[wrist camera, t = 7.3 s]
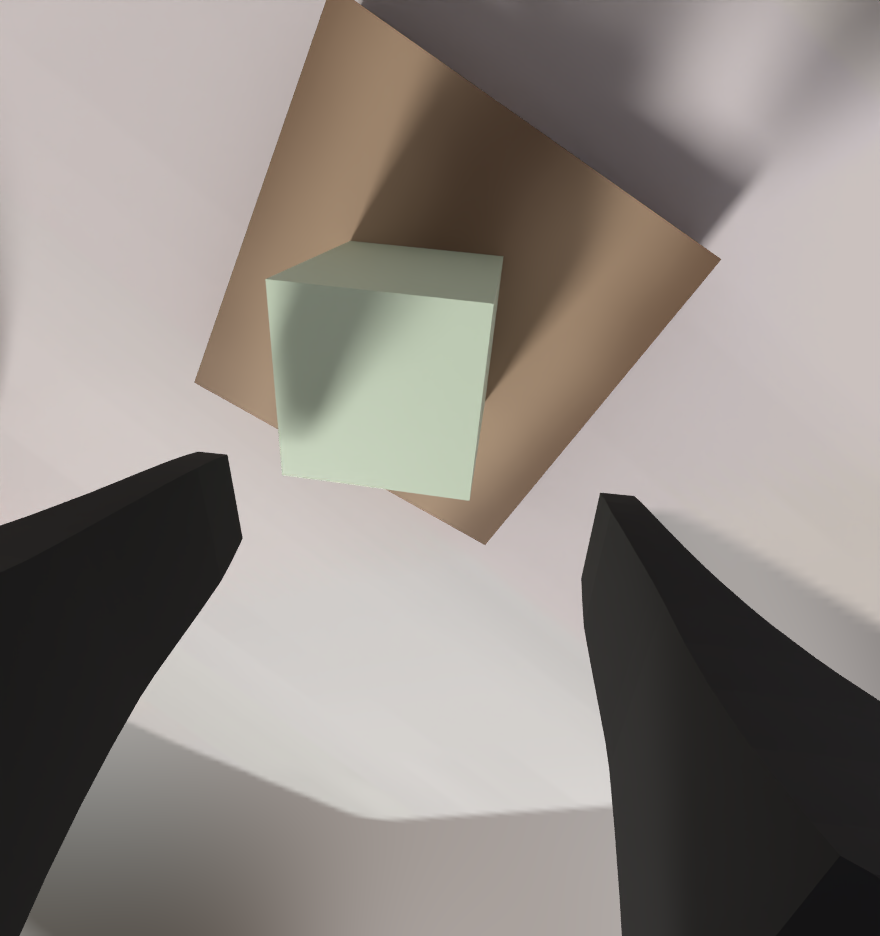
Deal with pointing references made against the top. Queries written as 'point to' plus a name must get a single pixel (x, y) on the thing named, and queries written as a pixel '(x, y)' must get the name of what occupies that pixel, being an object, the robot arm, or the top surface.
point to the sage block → (383, 365)
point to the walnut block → (457, 245)
